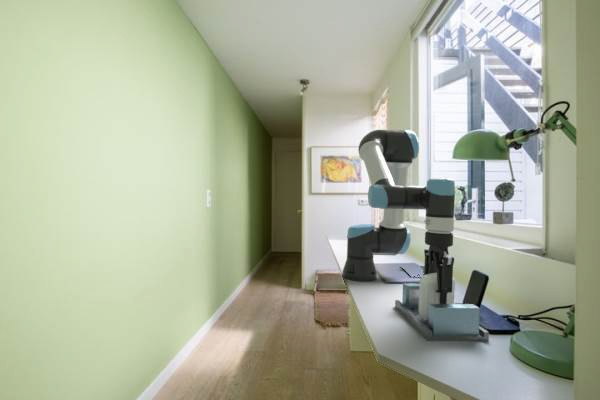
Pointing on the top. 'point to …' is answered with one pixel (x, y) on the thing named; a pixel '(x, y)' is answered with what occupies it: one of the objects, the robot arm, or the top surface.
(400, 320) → the top surface
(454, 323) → the vise
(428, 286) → the white rounded slab
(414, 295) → the sliding jaw
